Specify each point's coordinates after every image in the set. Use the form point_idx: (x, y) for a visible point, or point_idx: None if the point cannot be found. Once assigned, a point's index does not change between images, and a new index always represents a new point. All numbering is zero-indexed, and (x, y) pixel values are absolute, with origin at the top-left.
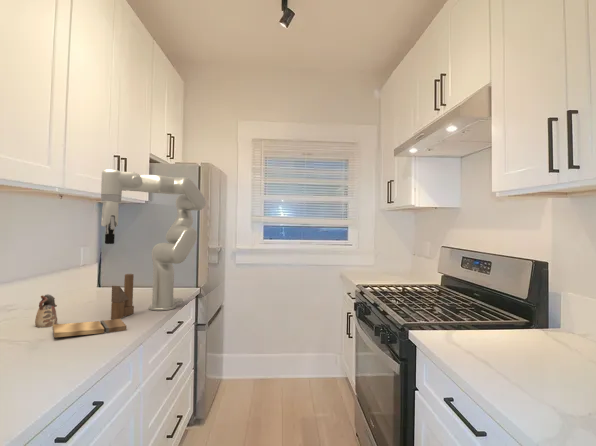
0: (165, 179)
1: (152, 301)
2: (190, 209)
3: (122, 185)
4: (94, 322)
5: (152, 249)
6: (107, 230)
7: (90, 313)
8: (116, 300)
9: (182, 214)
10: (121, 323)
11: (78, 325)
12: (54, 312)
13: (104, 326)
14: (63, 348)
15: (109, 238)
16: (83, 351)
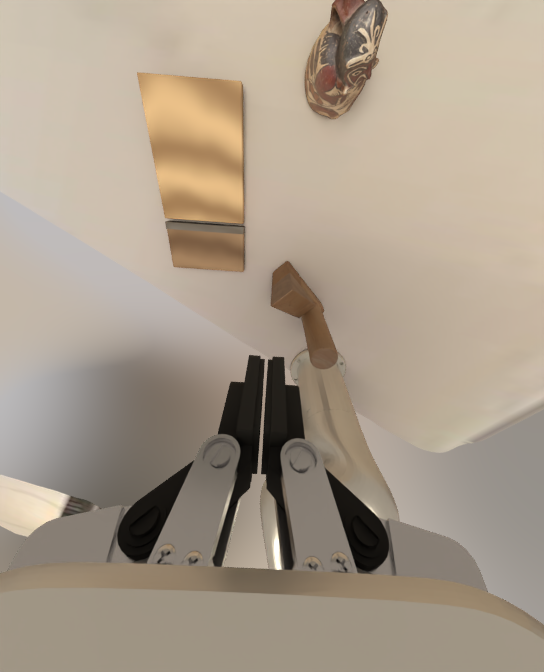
0: None
1: None
2: None
3: None
4: (232, 209)
5: (379, 498)
6: (180, 490)
7: (380, 231)
8: (277, 284)
9: None
10: (196, 263)
11: (211, 161)
12: (319, 89)
13: (184, 223)
14: (71, 96)
15: (226, 409)
16: (40, 141)
